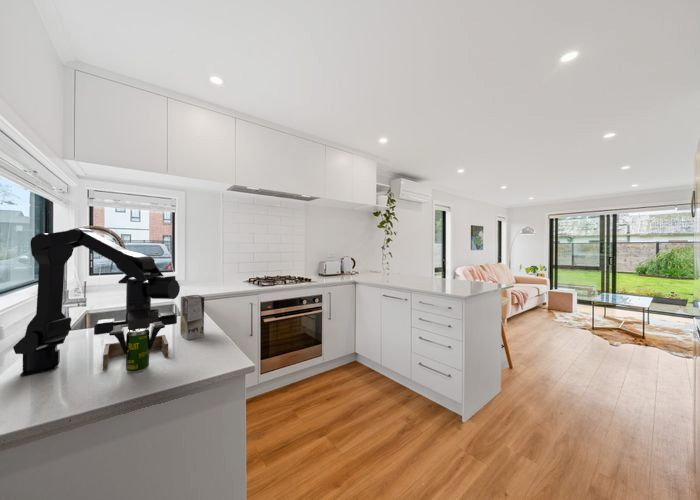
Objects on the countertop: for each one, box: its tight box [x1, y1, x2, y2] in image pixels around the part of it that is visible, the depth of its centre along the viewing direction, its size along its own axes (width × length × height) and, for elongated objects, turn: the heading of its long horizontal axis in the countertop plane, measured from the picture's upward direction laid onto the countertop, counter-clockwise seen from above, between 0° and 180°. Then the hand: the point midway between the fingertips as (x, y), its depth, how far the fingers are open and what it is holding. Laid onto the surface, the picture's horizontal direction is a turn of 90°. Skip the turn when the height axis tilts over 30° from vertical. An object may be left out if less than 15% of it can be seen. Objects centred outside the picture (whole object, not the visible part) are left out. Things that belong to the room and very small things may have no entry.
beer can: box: [125, 327, 151, 374], centre depth 79 cm, size 5×5×12 cm
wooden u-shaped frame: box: [102, 334, 169, 371], centre depth 88 cm, size 16×11×4 cm
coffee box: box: [180, 294, 205, 341], centre depth 110 cm, size 9×6×16 cm
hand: (137, 351), depth 79 cm, fingers closed on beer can, 5 cm apart
